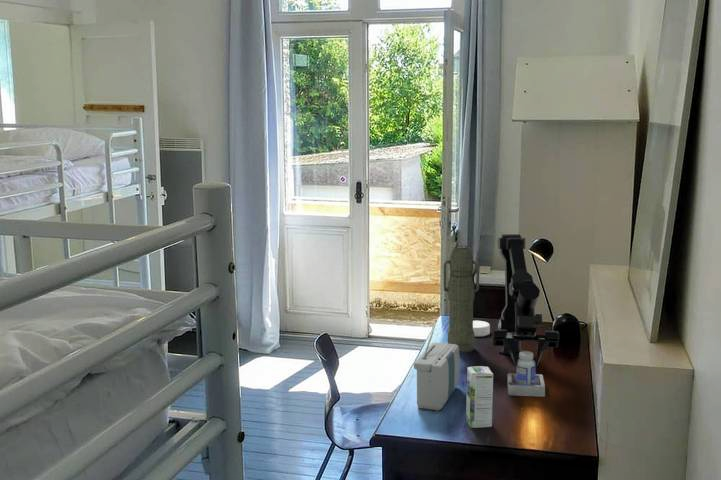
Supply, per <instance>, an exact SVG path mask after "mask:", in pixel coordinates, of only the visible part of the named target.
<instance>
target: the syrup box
mask: <svg viewBox="0 0 721 480" xmlns="http://www.w3.org/2000/svg"><path fill="white" fill-rule="evenodd" d="M466 369H467V371H466V374H467V375H466V377H467V378H466V402H465V403H466V404H465V405H466V407H465V409H466V410H465V415H466V416H465V418H466V422H467V424H468V426H469V427H470V429H476V428H477V429H478V428H491V427H493V402H494V401H493V399H494V398H493V392H494V373H493V372H492V370H491V369H490V367H489V366H484V365H483V366H482V365H478V366H476V365H475V366H467V368H466Z"/></svg>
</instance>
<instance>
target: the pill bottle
mask: <svg viewBox="0 0 721 480" xmlns="http://www.w3.org/2000/svg"><path fill="white" fill-rule="evenodd" d="M536 367H537V366H536V360H534V352H532V351H530V350H529V351H528V350H524V351H522V352H520V353H519V355H518V359H517V365H516V373H515V374H516V384H524V385H535V378H536V374H537V373H536V371H537V369H536Z"/></svg>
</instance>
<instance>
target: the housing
mask: <svg viewBox="0 0 721 480" xmlns="http://www.w3.org/2000/svg"><path fill="white" fill-rule="evenodd" d="M545 385H546V384H545V379H544V375H543V374H540V373H539V374H537V373H536V378H535V385H524V384H516V373H510V372H507V391H508V392H507V394H508V396H517V397H519V396H520V397H540V398H541V397H546V386H545Z"/></svg>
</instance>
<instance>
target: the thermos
mask: <svg viewBox="0 0 721 480" xmlns="http://www.w3.org/2000/svg"><path fill="white" fill-rule="evenodd" d="M448 264H449V270H450V273H449V278H448V282H447V265H448ZM474 265H475V267H476V269H475V270H476V271H475V272H476V276H475V277H476V278H475V279H476V282H475V280H474V274H473V271H474ZM480 267H481V265H480V264H479V262H478V261H477V260H474V256H473V252H472V248H471V247H469V246H468V245H455V246H453V247H452V248H451V251H450V254H449V259H447V260H445V262H444V263H443V291H444V292H446V293H447V298H448V303H449V304H448V305H449V306H448V307H449V308H448V309H449V318H448V319H449V320H448V321H449V323H448V325H449V327H448V329H447V344H456V345H458V347H459V354H464V353H465V354H466V353H471V352H472V351H474V350H475V347H474V346H475V345H474V344H475V336H474V331H473V321H474V300H475V294H476V293H477V292H478V291H479V290H480ZM475 285H476V286H475Z"/></svg>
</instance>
